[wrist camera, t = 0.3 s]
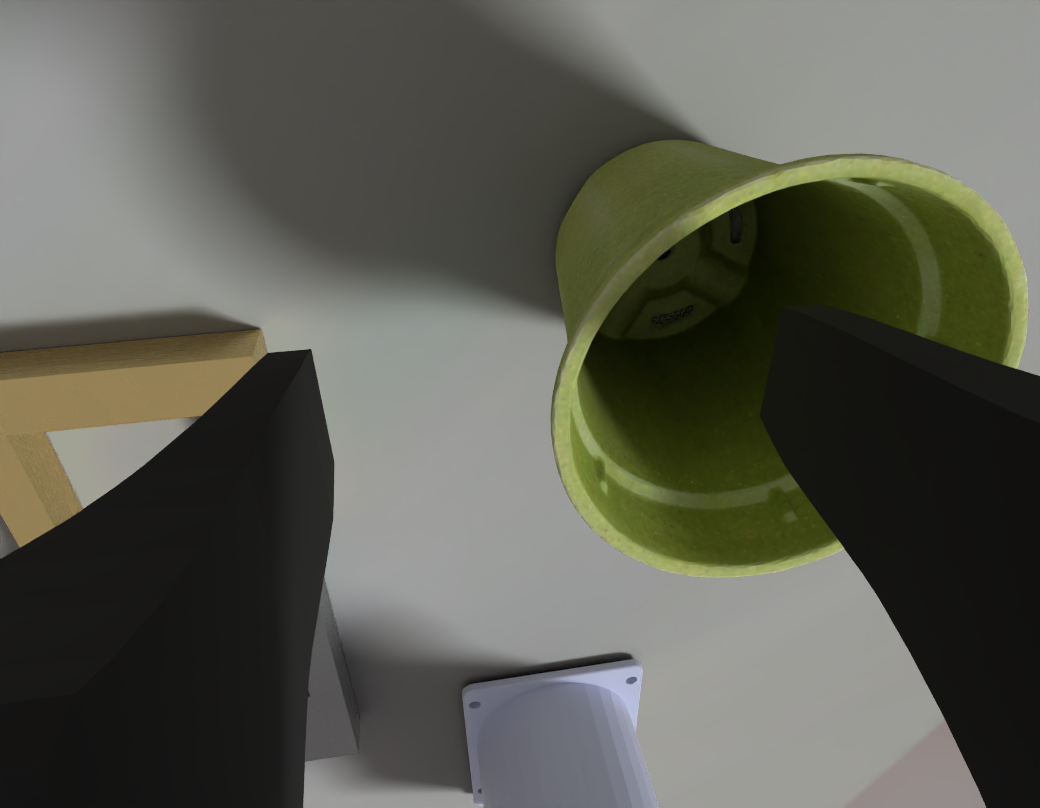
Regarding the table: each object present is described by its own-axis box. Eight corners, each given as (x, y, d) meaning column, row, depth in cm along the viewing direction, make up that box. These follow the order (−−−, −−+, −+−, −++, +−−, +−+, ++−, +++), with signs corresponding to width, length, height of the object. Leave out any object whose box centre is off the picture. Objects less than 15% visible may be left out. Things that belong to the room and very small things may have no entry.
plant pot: (549, 421, 24) (620, 631, 17) (444, 149, 18) (482, 285, 11) (817, 322, 23) (1010, 494, 16) (789, 14, 18) (1058, 65, 11)
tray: (359, 717, 31) (358, 752, 29) (167, 748, 30) (157, 785, 28) (260, 328, 20) (252, 356, 19) (-42, 356, 19) (-73, 387, 18)
